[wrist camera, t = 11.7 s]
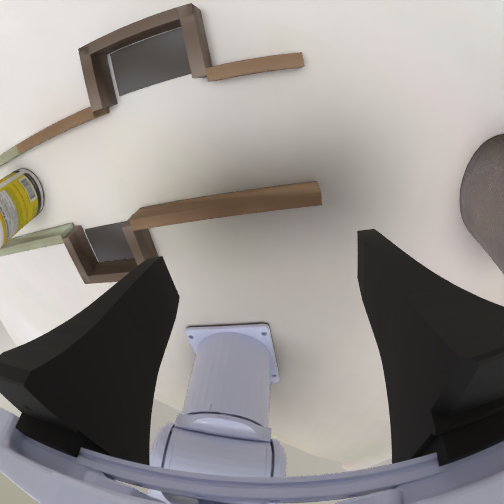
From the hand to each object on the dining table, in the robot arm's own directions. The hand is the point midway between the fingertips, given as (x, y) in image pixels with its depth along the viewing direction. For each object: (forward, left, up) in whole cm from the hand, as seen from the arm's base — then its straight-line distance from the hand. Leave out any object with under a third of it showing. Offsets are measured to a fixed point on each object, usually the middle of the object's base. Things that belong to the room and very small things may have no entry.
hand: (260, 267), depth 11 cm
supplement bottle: (+3, +21, -10) cm, 23 cm away
